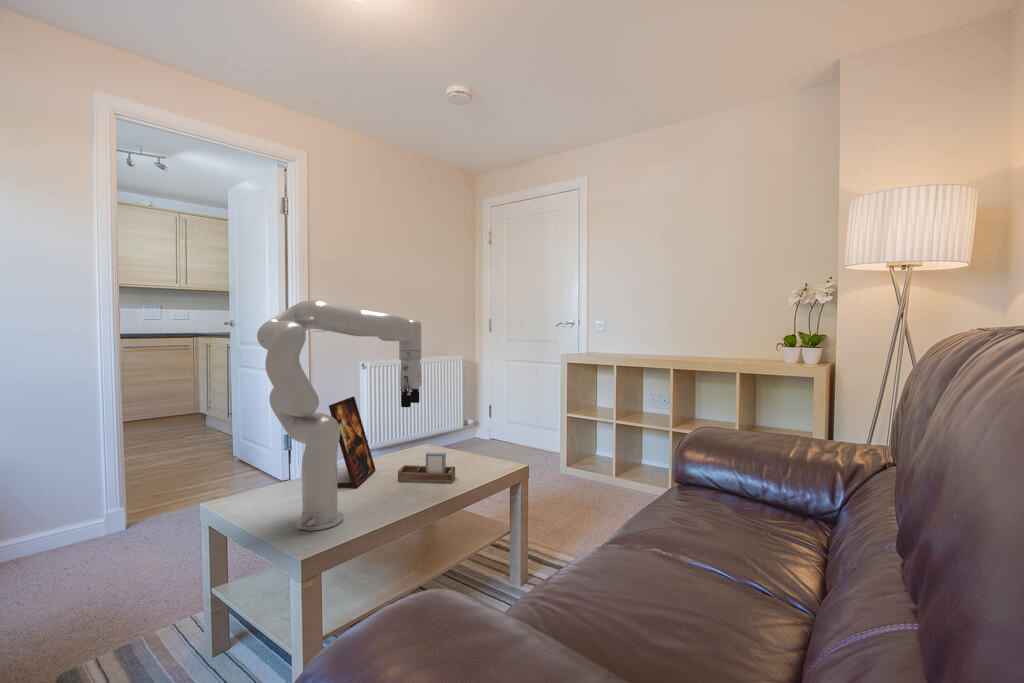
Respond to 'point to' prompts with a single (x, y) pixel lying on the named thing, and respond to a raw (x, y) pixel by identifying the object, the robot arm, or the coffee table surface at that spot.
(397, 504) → the coffee table surface
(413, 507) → the coffee table surface
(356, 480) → the picture frame
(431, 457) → the blue frame tile
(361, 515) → the coffee table surface
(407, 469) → the wooden tray box
